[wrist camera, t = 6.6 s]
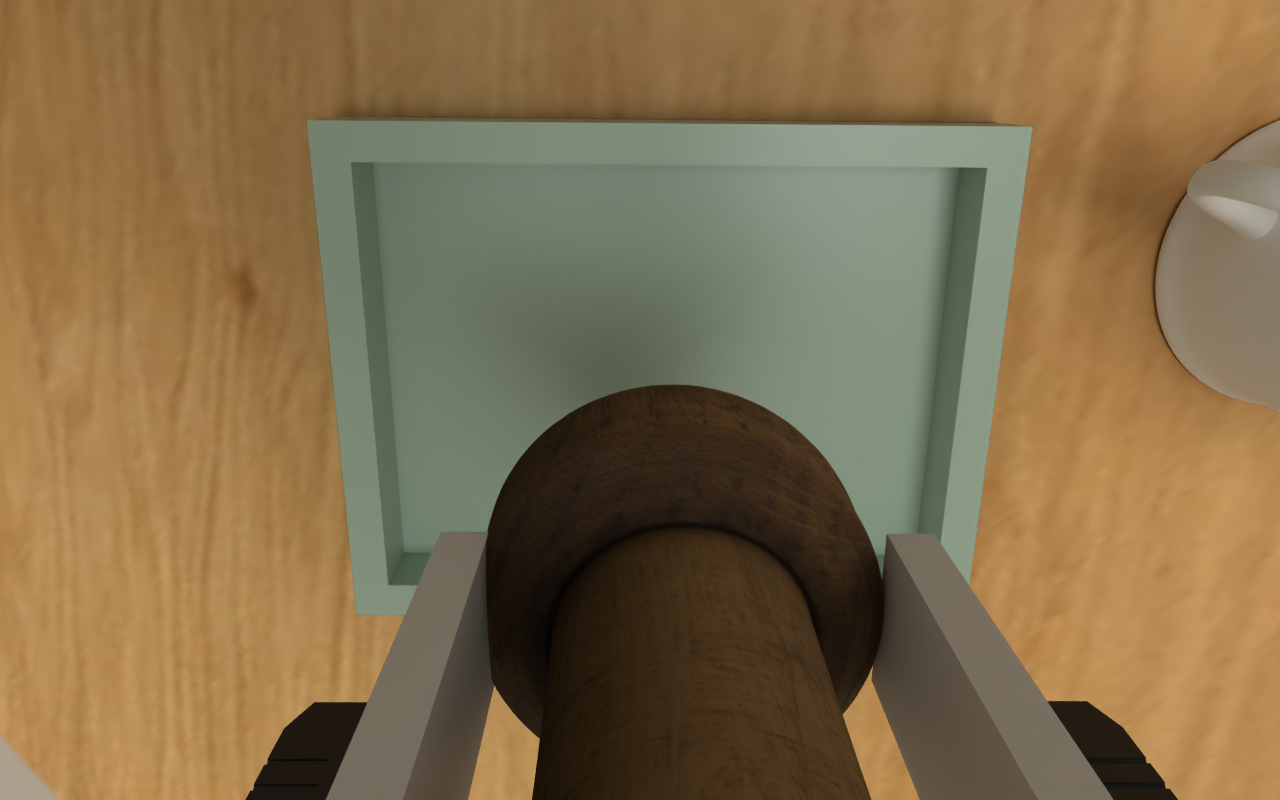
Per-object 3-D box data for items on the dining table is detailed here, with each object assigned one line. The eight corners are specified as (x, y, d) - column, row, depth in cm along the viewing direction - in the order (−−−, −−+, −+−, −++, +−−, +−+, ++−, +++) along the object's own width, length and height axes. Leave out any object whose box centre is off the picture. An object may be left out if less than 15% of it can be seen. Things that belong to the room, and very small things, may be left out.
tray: (338, 116, 26) (306, 120, 23) (994, 122, 26) (1032, 126, 23) (379, 571, 30) (356, 615, 28) (937, 573, 30) (964, 617, 28)
